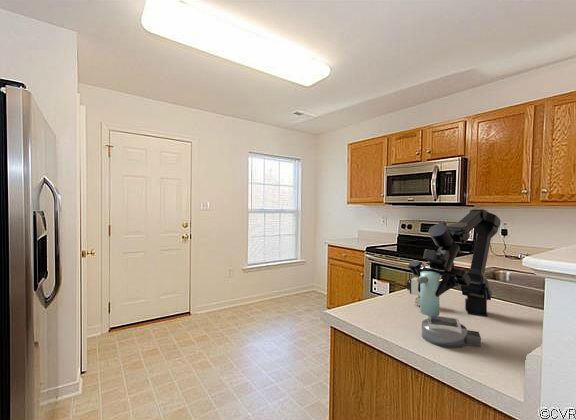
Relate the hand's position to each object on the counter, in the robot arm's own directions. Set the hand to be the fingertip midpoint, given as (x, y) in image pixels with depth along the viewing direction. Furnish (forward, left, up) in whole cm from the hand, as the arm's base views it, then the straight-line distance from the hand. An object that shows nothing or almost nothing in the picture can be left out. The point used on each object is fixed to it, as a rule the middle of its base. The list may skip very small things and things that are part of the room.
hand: (427, 293), depth 97 cm
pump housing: (0, 0, -7) cm, 7 cm away
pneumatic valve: (+1, -30, -14) cm, 33 cm away
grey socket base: (-6, +1, -13) cm, 15 cm away
